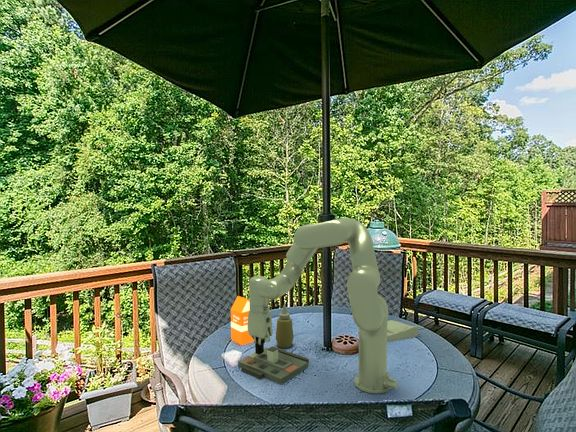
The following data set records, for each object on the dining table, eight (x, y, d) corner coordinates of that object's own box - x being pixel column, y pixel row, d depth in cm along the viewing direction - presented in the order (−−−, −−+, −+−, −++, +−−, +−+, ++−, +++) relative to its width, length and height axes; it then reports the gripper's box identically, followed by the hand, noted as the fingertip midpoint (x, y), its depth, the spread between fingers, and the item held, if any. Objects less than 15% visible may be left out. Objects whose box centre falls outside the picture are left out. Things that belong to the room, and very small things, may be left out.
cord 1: (263, 377, 130) (263, 373, 130) (260, 379, 129) (260, 375, 129) (244, 369, 137) (244, 365, 137) (241, 371, 135) (241, 367, 135)
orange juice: (241, 345, 159) (240, 301, 158) (230, 339, 166) (230, 297, 165) (255, 340, 164) (255, 297, 163) (244, 335, 171) (244, 293, 170)
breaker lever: (278, 361, 139) (278, 348, 139) (273, 363, 136) (272, 351, 136) (272, 358, 141) (272, 346, 140) (267, 361, 138) (267, 348, 138)
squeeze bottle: (291, 350, 154) (291, 309, 153) (273, 348, 155) (273, 308, 154) (295, 342, 161) (295, 303, 160) (277, 341, 163) (277, 302, 162)
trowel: (362, 344, 160) (362, 332, 160) (355, 331, 176) (355, 320, 176) (424, 343, 161) (424, 331, 160) (411, 330, 176) (412, 319, 176)
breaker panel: (307, 367, 138) (307, 360, 138) (281, 384, 126) (281, 376, 125) (265, 352, 152) (265, 345, 152) (238, 366, 139) (237, 359, 139)
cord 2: (308, 362, 142) (308, 358, 142) (306, 364, 141) (306, 360, 140) (274, 350, 153) (274, 347, 153) (272, 352, 152) (272, 348, 152)
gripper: (279, 309, 140) (279, 355, 141) (252, 302, 150) (253, 345, 151) (266, 314, 134) (267, 361, 135) (239, 306, 144) (239, 351, 145)
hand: (259, 353), depth 143 cm, fingers closed
